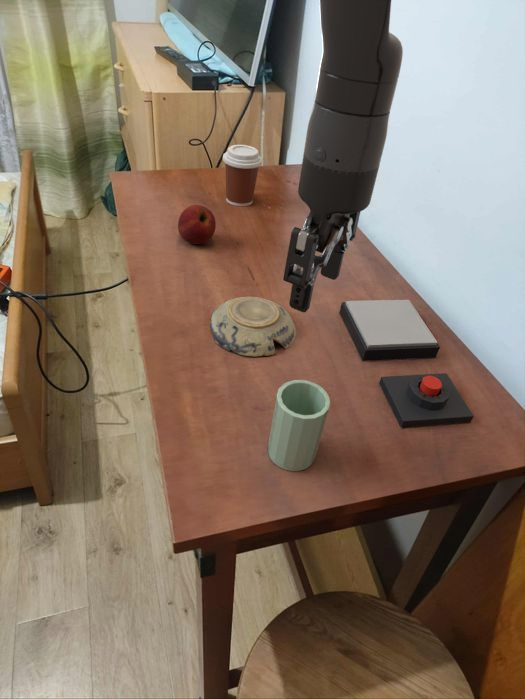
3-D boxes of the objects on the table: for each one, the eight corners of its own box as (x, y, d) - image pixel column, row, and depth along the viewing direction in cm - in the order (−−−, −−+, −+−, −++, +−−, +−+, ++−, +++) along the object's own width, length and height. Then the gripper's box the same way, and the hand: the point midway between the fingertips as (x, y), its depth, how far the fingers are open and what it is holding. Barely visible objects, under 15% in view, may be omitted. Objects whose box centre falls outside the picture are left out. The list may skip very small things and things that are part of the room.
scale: (405, 311, 94) (410, 297, 92) (435, 358, 85) (441, 344, 83) (339, 312, 91) (342, 299, 90) (362, 361, 82) (366, 347, 80)
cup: (308, 430, 70) (322, 378, 63) (320, 469, 65) (336, 416, 58) (263, 434, 68) (272, 381, 62) (272, 473, 64) (283, 420, 57)
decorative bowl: (241, 292, 93) (188, 329, 83) (243, 274, 91) (188, 311, 81) (311, 326, 88) (263, 371, 78) (315, 309, 86) (266, 353, 75)
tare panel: (443, 379, 81) (450, 365, 79) (470, 422, 74) (478, 408, 72) (378, 382, 78) (383, 368, 76) (400, 427, 72) (406, 413, 70)
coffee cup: (225, 189, 126) (228, 140, 119) (261, 196, 126) (266, 146, 118) (216, 204, 119) (218, 153, 112) (253, 211, 119) (258, 160, 111)
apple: (184, 253, 101) (184, 215, 96) (173, 234, 107) (172, 198, 101) (219, 248, 104) (221, 212, 99) (206, 230, 109) (207, 195, 104)
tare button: (433, 382, 76) (437, 375, 75) (441, 396, 74) (445, 388, 73) (416, 383, 75) (419, 376, 74) (424, 397, 73) (427, 389, 72)
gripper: (350, 187, 44) (318, 334, 54) (401, 145, 53) (365, 277, 64) (274, 163, 46) (257, 308, 56) (335, 128, 56) (311, 257, 66)
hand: (314, 291), depth 60 cm, fingers open, 8 cm apart
